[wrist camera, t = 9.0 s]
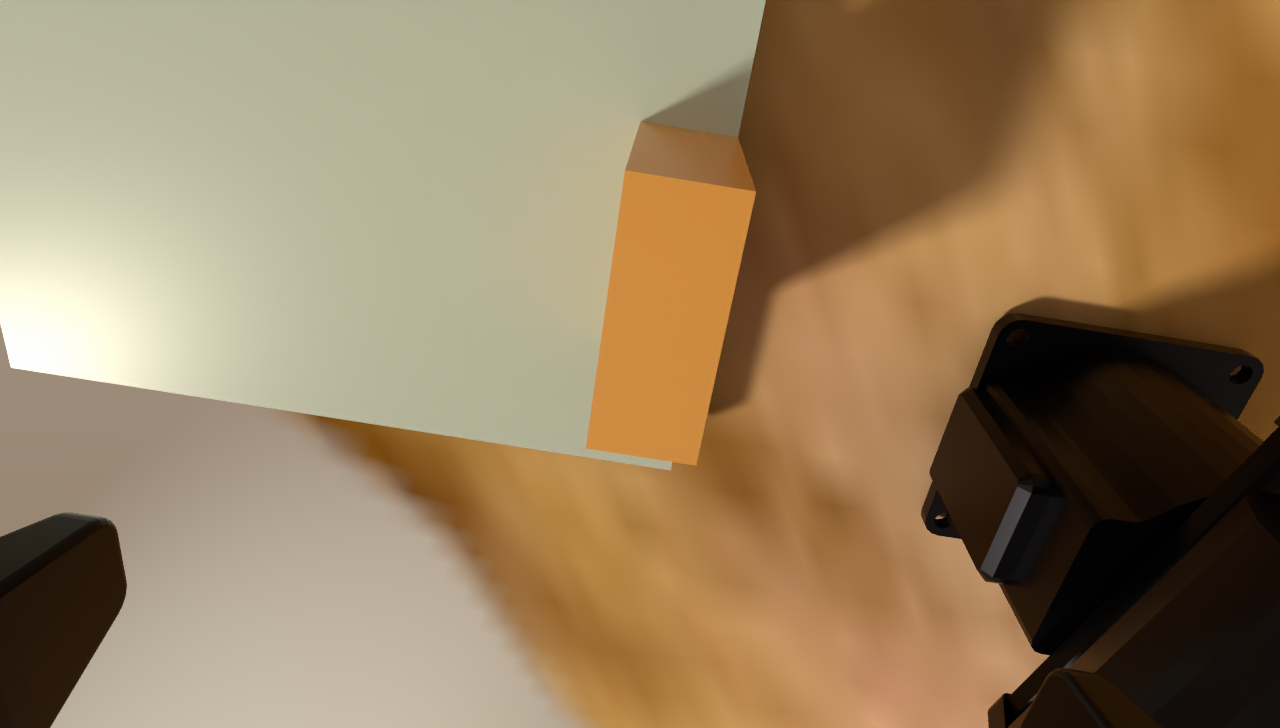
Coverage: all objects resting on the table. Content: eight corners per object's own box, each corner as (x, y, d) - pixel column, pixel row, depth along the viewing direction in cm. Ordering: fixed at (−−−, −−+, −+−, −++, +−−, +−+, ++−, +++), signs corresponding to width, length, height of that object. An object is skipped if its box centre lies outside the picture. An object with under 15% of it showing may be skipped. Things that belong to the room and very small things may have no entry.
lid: (764, -37, 16) (808, -47, 10) (671, 432, 21) (666, 599, 15) (-40, -173, 16) (-452, -261, 10) (64, 337, 21) (-171, 471, 15)
